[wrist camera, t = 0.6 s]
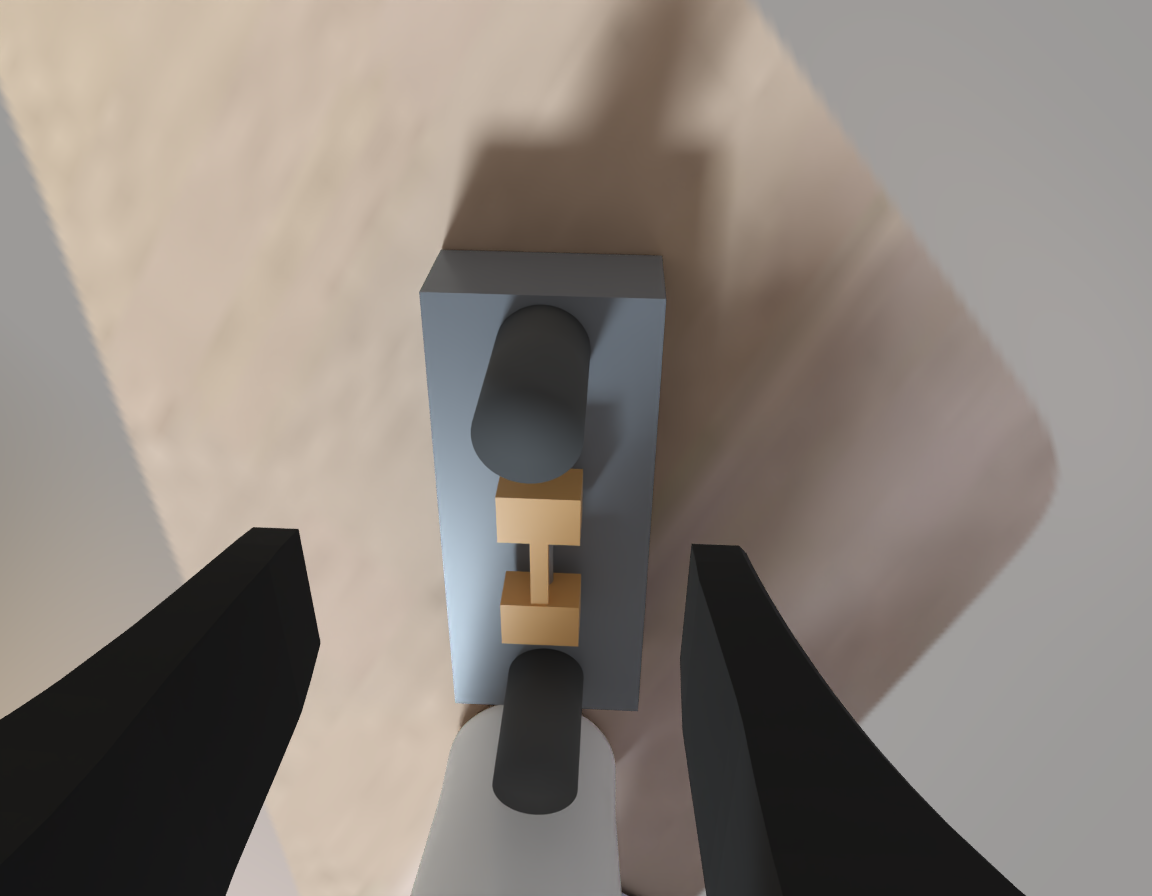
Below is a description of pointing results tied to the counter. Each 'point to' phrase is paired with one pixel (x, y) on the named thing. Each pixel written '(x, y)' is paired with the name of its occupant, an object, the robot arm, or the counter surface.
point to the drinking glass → (520, 826)
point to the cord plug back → (540, 733)
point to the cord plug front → (534, 396)
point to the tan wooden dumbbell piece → (540, 559)
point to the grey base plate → (609, 461)
